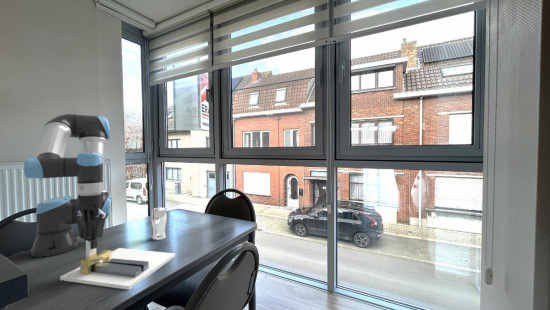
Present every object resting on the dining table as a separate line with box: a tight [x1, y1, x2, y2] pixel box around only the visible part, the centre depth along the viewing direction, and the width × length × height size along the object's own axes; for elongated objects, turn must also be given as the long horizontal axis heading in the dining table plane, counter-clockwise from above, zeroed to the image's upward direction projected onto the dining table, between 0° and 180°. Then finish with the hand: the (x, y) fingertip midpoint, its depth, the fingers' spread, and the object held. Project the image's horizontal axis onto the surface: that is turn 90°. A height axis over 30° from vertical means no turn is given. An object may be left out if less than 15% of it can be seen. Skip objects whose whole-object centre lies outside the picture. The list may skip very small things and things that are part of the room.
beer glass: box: [151, 206, 168, 241], centre depth 118 cm, size 7×7×15 cm
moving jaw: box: [106, 258, 149, 271], centre depth 85 cm, size 16×2×2 cm, turn 81°
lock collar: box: [80, 248, 112, 274], centre depth 85 cm, size 3×9×5 cm, turn 169°
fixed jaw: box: [79, 262, 141, 277], centre depth 83 cm, size 24×2×2 cm, turn 79°
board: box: [59, 247, 176, 291], centre depth 89 cm, size 28×24×1 cm
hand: (91, 256), depth 86 cm, fingers closed
